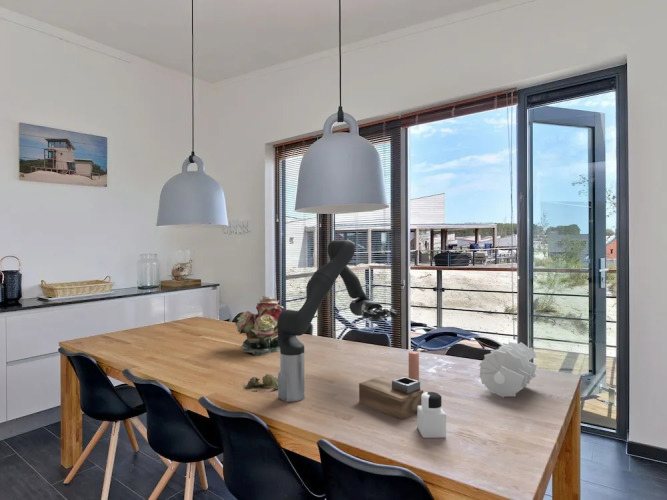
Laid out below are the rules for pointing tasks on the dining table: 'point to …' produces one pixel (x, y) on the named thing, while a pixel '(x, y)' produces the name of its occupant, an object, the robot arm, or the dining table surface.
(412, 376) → the key peg
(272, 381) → the mossy rock cluster
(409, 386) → the brown wooden block
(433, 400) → the medicine bottle
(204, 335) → the dining table surface
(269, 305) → the rose bouquet
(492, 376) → the spiral staircase
